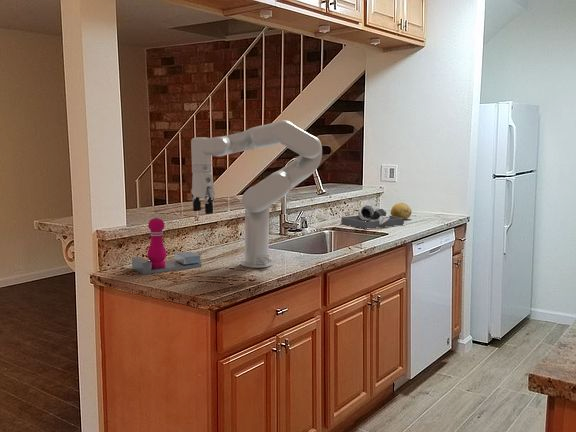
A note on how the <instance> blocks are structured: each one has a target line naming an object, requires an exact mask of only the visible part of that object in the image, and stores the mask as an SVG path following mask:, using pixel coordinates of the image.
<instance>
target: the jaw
mask: <svg viewBox="0 0 576 432" xmlns="http://www.w3.org/2000/svg"><path fill="white" fill-rule="evenodd" d="M173 257H174V258H173V260H176V261H178V262H180V263H182V264H192V263H201V255H200V254H198V253H195V252H193V251H189V250H188V251H182V252H176V253H173Z"/></svg>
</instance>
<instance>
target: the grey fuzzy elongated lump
mask: <svg viewBox="0 0 576 432" xmlns="http://www.w3.org/2000/svg"><path fill="white" fill-rule="evenodd" d="M357 216H359V217H360V219H361V220H362V221H367V220H369V219H370V220H371V221H380V223H379V225H381V224H382V223H384V222H386V221H387V220H389V218H390V216H391V215H389V214H388V213H387V211H385V209H383V208H379V209H378V208H377V209H375V210H374V208H373V207H372V205H371V206H370V205H364V206H363V207H361V208H360V209H359V210H358V213H357Z"/></svg>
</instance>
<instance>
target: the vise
mask: <svg viewBox="0 0 576 432" xmlns="http://www.w3.org/2000/svg"><path fill="white" fill-rule="evenodd" d="M164 261H165V266H164V267H161V268H152V267H151V262H150V260H149V259H148V260H147V259H146V258H144V257H141V256H133V257H131V269H132V270H134V271H135V272H138V273H140V274H141V275H143V276H144V275H151V274H159V273H165V272H166V273H167V272H173V271H181V270H189V269H195V268H200V267H201V268H202V267H203V264H202V263H201V262H200V263H192V264H182V263H180V262H178V261H176V260H174V259H173V260H164Z"/></svg>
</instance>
